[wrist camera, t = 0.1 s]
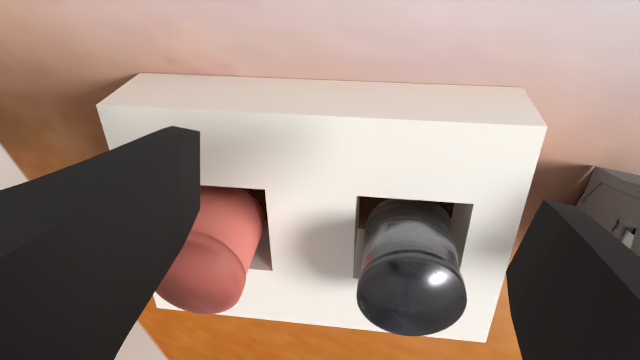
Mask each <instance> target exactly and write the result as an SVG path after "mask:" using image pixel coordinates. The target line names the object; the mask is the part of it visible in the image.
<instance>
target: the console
mask: <svg viewBox="0 0 640 360" xmlns="http://www.w3.org/2000/svg"><path fill="white" fill-rule="evenodd" d="M96 107H97V110H98V114H99V117H100V120H101V124H102V127H103V130H104V134H105V137H106V140H107V143H108V147H109V150H112V149H114V148H117V147H119V146H121V145H124V144H126V143H128V142H131V141H133V140H136V139H138V138H140V137H143V136H145V135H148V134H150V133H153V132H155V131H158V130H160V129H163V128H166V127H170V126H176V127H181V128H186V129H191V130H196V131H200V185H206V186H221V187H235V188H250V189H264V190H265V195H266V206H267V217H268V221H265V227H264V230H263V233H262V235H261V238H260V241H259V243H258V246H257V248H256V251H255V254H254V256H253V259H252V261H251V264H250V266H249V269H248V272H247V274H246V283H245V286H244V289H243V292H242V295H241V297H240V299H239V301H238V302H237V303H236V304H235V305H234V306H233V307H232V308H230V309H229V310H227V311H224V312H221V313H216V314H220V315H229V316H239V317H248V318H258V319H267V320H277V321H286V322H295V323H305V324H314V325H324V326H333V327H343V328H352V329H362V330H371V331H381V332H388V331H385V330H383V329H380V328H379V327H377V326H375V325H374V324H372V323H371V322H370V321H369V320H368V319H366V317H365V316H364V315H363V314H362V312H361V311H360V309H359V307H358V304H357V298H356V294H357V284H358V278H359V275H360V273H361V270H362V259H363V248H364V237H365V229H360V228H359V205H360V196H365V197H380V198H394V199H409V200H423V201H437V202H452V203H454V207H453V212H452V218H451V223H452V228H453V234H454V240H455V246H456V252H457V258H458V264H459V270H460V273H461V275H462V277H463V279H464V283H465V288H466V294H467V305H466V308H465V311H464V313H463V315H462V316H461V317H460V319H459V320H458V321H457V322H456V323H454V324H453V325H452V326H450V327H448V328H447V329H445V330H443V331H440V332H437V333H434V334H430V335H424V336H428V337H437V338H447V339H456V340H466V341H475V342H485V343H486V340H487V336H488V333H489V329H490V326H491V322H492V319H493V315H494V312H495V308H496V305H497V301H498V298H499V294H500V291H501V287H502V284H503V280H504V277H505V273H506V270H507V266H508V263H509V259H510V256H511V252H512V249H513V245H514V242H515V238H516V235H517V231H518V228H519V224H520V221H521V217H522V214H523V210H524V207H525V203H526V200H527V196H528V193H529V189H530V186H531V182H532V179H533V175H534V172H535V168H536V165H537V161H538V158H539V154H540V151H541V147H542V144H543V140H544V137H545V133H546V130H547V125H546V123H545V122H544V120H543V119H542V117H541V116H540V114H539V112H538V111H537V109H536V108H535V106H534V104H533V103H532V101H531V100H530V98H529V96H528V95H527V93H526V92H525V90H524V89H523V87H500V86H473V85H447V84H420V83H394V82H367V81H341V80H314V79H288V78H261V77H235V76H208V75H181V74H155V73H139V74H138V75H136V76H135V77H134V78H132V79H131V80H130V81H128V82H127V83H125V84H124V85H123V86H121V87H120V88H119V89H117V90H116V91H114V92H113V93H112V94H110V95H109V96H108V97H106V98H105V99H103V100H102V101H101V102H99V103H98V104H97V105H96ZM153 296H154V299H155V303H156V306H157V308H163V309H172V310H182V309H180V308H177V307H175V306H173V305H172V304H170V303H168V302H167V301H165V300H164V299H163V298H161V297H160V296H159V295H158V294H157V293H156V292H154V294H153ZM182 311H185V310H182ZM390 333H391V332H390Z"/></svg>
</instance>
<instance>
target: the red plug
mask: <svg viewBox="0 0 640 360" xmlns="http://www.w3.org/2000/svg"><path fill="white" fill-rule="evenodd" d="M264 227H265V217H264V213H263V210H262V208H261V206H260V205H259V203H258V202H257V201H256V199H255V198H254V197H253V196H252V195H251V194H249V193H248V192H247V191H245V190H243V189H242V188H235V187H221V186H206V185H200V210H199V213H198V215H197V217H196V220H195V222H194V224H193V227H192V229H191V231H190V233H189V235H188V237H187V240H186V242H185V244H184V246H183V248H182V249H181V251H180V253H179V254H178V256H177V258H176V259H175V261H174V262H173V264H172V266H171V267H170V269H169V270H168V272H167V274H166V275H165V277H164V278H163V280H162V281H161V283H160V285H159V286H158V288H157V289H156V291H155V292H156V293H157V294H158V295H159V296H160V297H161V298H163V299H164V300H165V301H167V302H168V303H170V304H172V305H173V306H175V307H177V308H180V309H182V310H185V311H188V312H192V313H198V314H216V313H221V312H224V311H227V310H229V309H230V308H232V307H233V306H234V305H235V304H236V303H237V302H238V301H239V299H240V297H241V295H242V292H243V289H244V286H245V283H246V274H247V272H248V269H249V266H250V264H251V261H252V259H253V256H254V254H255V251H256V248H257V246H258V243H259V241H260V238H261V235H262V233H263V230H264Z"/></svg>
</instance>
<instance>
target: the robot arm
mask: <svg viewBox="0 0 640 360" xmlns="http://www.w3.org/2000/svg"><path fill="white" fill-rule="evenodd" d="M199 210H200V131H196V130H191V129H186V128H181V127H176V126H170V127H166V128H163V129H160V130H158V131H155V132H153V133H150V134H148V135H145V136H143V137H140V138H138V139H136V140H133V141H131V142H128V143H126V144H124V145H121V146H119V147H117V148H114V149H112V150H109V151H107V152H105V153H102V154H100V155H97V156H95V157H92V158H90V159H88V160H85V161H82V162H80V163H77V164H74V165H72V166H69V167H66V168H64V169H61V170H58V171H55V172H53V173H50V174H47V175H45V176H42V177H39V178H37V179H34V180H31V181H28V182H25V183H22V184H19V185H16V186H12V187H10V188H6V189H3V190H0V360H114V358H115V357H116V355H117V353H118V351H119V349H120V347H121V346H122V344H123V342H124V340H125V339H126V337H127V335H128V334H129V332H130V330H131V329H132V327H133V325H134V324H135V322H136V321H137V319H138V318H139V316H140V314H141V313H142V311H143V310H144V308H145V307H146V305H147V303H148V302H149V300H150V299H151V297H152V296H153V294H154V292H155V291H156V289H157V288H158V286H159V285H160V283H161V281H162V280H163V278H164V277H165V275H166V274H167V272H168V270H169V269H170V267H171V266H172V264H173V262H174V261H175V259H176V258H177V256H178V254H179V253H180V251H181V249H182V248H183V246H184V244H185V242H186V240H187V237H188V235H189V233H190V231H191V229H192V227H193V224H194V222H195V220H196V217H197V215H198V213H199ZM506 276H507V286H508V296H509V304H510V311H511V317H512V321H513V325H514V329H515V332H516V336H517V340H518V344H519V348H520V351H521V355H522V359H523V360H640V257H639V256H638V255H637V254H635V253H634V252H633V251H632V250H631V249H629V248H628V247H627V246H626V245H625V244H623V243H622V242H621V241H620V240H619V239H617V238H616V237H615V236H614V235H612V234H611V233H610V232H609V231H608V230H606V229H605V228H604V227H603V226H601V225H600V224H599V223H598V222H596V221H595V220H594V219H592V218H591V217H590V216H588V215H587V214H586V213H584V212H583V211H581V210H580V209H578V208H577V207H575V206H574V205H569V204H564V203H559V202H554V201H549V200H544V199H543V201H542V203H541V205H540V207H539V209H538V211H537V213H536V215H535V217H534V219H533V220H532V222H531V224H530V226H529V228H528V230H527V232H526V234H525V236H524V238H523V240H522V242H521V244H520V245H519V247H518V249H517V251H516V253H515V255H514V257H513V259H512V261H511V263H510V265H509V267H508V269H507V270H506Z"/></svg>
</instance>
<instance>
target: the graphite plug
mask: <svg viewBox="0 0 640 360" xmlns="http://www.w3.org/2000/svg"><path fill="white" fill-rule="evenodd" d="M356 298H357V304H358V307H359V309H360V311H361V312H362V314H363V315H364V316H365V317H366V319H368V320H369V321H370V322H371V323H372V324H374V325H375V326H377V327H379V328H380V329H383V330H385V331H388V332H391V333H394V334H398V335H404V336H424V335H430V334H434V333H437V332H440V331H443V330H445V329H447V328H448V327H450V326H452V325H453V324H454V323H456V322H457V321H458V320H459V319H460V317H461V316H462V315H463V313H464V311H465V308H466V305H467V294H466V288H465V283H464V279H463V277H462V275H461V273H460V270H459V264H458V258H457V252H456V246H455V240H454V234H453V228H452V223H451V219H450V217H449V215H448V214H447V212H446V211H445V210H444V209H443V208H442V207H441V206H440V205H439V204H437V203H436V202H434V201H423V200H409V199H394V198H389V199H387V200H385V201H383V202H381V203H380V204H378V205H377V206H376V207H375V208H374V209H373V210H372V211H371V213H370V214H369V216H368V218H367V221H366V226H365V237H364V248H363V259H362V270H361V273H360V275H359V278H358V284H357V294H356Z"/></svg>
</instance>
